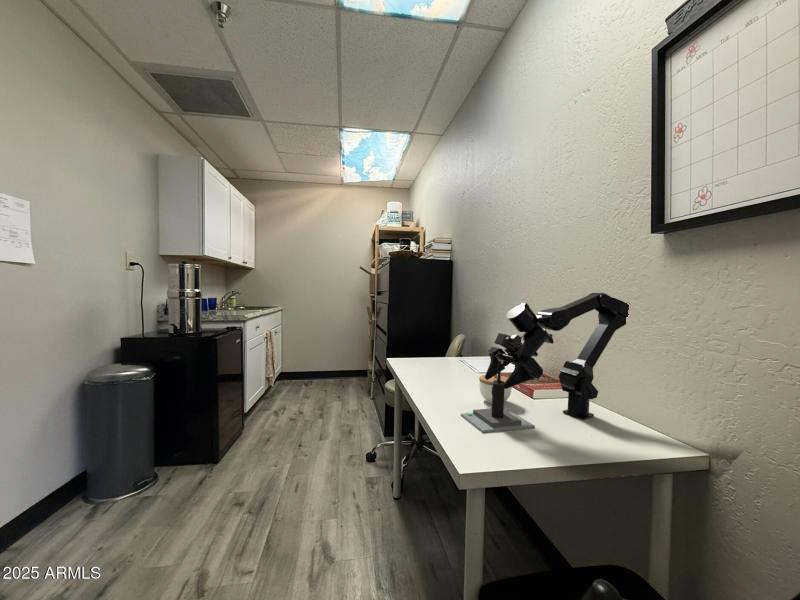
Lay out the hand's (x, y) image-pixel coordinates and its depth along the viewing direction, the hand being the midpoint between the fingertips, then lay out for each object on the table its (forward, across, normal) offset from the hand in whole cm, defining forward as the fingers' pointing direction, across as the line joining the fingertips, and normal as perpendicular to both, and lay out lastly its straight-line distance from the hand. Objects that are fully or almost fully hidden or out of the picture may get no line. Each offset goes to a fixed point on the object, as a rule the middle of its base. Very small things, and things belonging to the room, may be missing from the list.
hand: (494, 383), depth 91 cm
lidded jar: (0, -16, +15) cm, 22 cm away
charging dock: (+7, 0, +8) cm, 11 cm away
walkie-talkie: (+6, 0, +7) cm, 9 cm away
